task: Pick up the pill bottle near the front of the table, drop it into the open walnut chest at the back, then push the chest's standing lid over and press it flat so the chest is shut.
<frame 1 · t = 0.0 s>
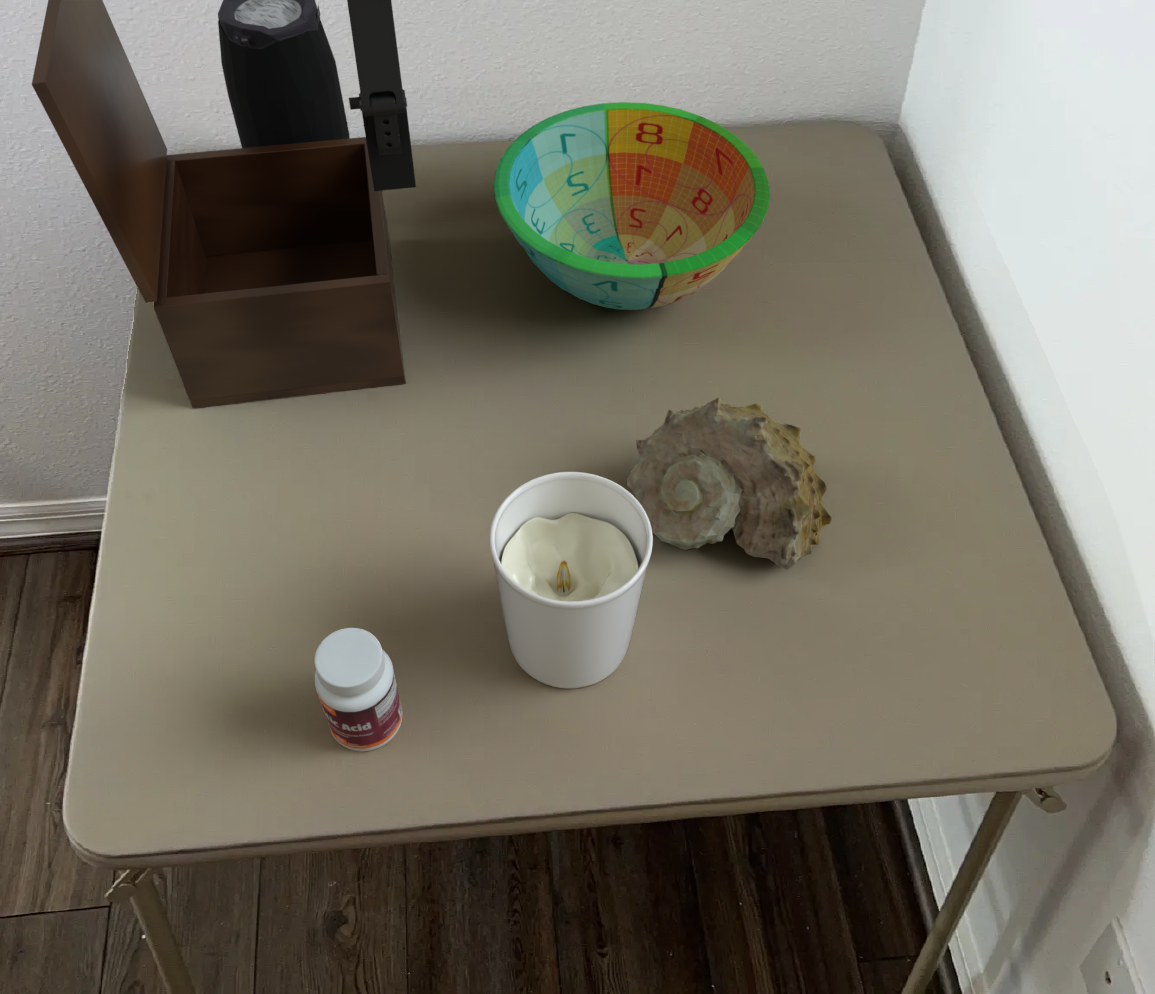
hand: (387, 124, 77), 21 cm above the table, tool pointing down, fingers open, 13 cm apart
lid: (110, 122, 78), point 20 cm above the table, hinge at 95.0°
pill bottle: (367, 720, 73), on the table
candle holder: (569, 637, 77), on the table
bowl: (625, 276, 99), on the table
chest: (297, 318, 95), on the table
portable speaker: (310, 205, 105), on the table
seashell: (724, 519, 84), on the table
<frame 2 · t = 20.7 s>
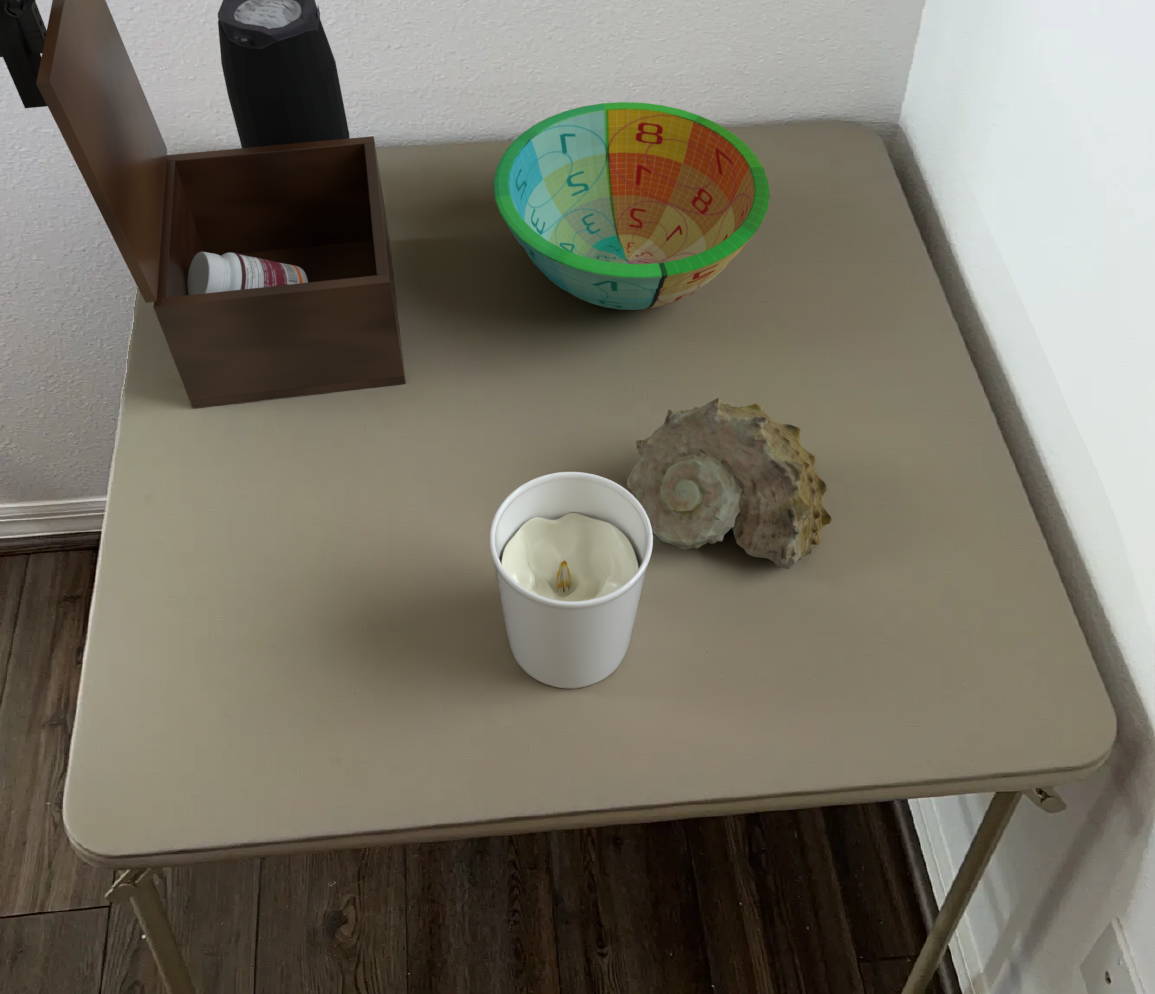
hand: (38, 95, 76), 23 cm above the table, tool pointing down, fingers closed
lid: (112, 121, 78), point 20 cm above the table, hinge at 94.1°, touching gripper
pill bottle: (298, 296, 93), point 3 cm above the table, touching chest
everything else where it was.
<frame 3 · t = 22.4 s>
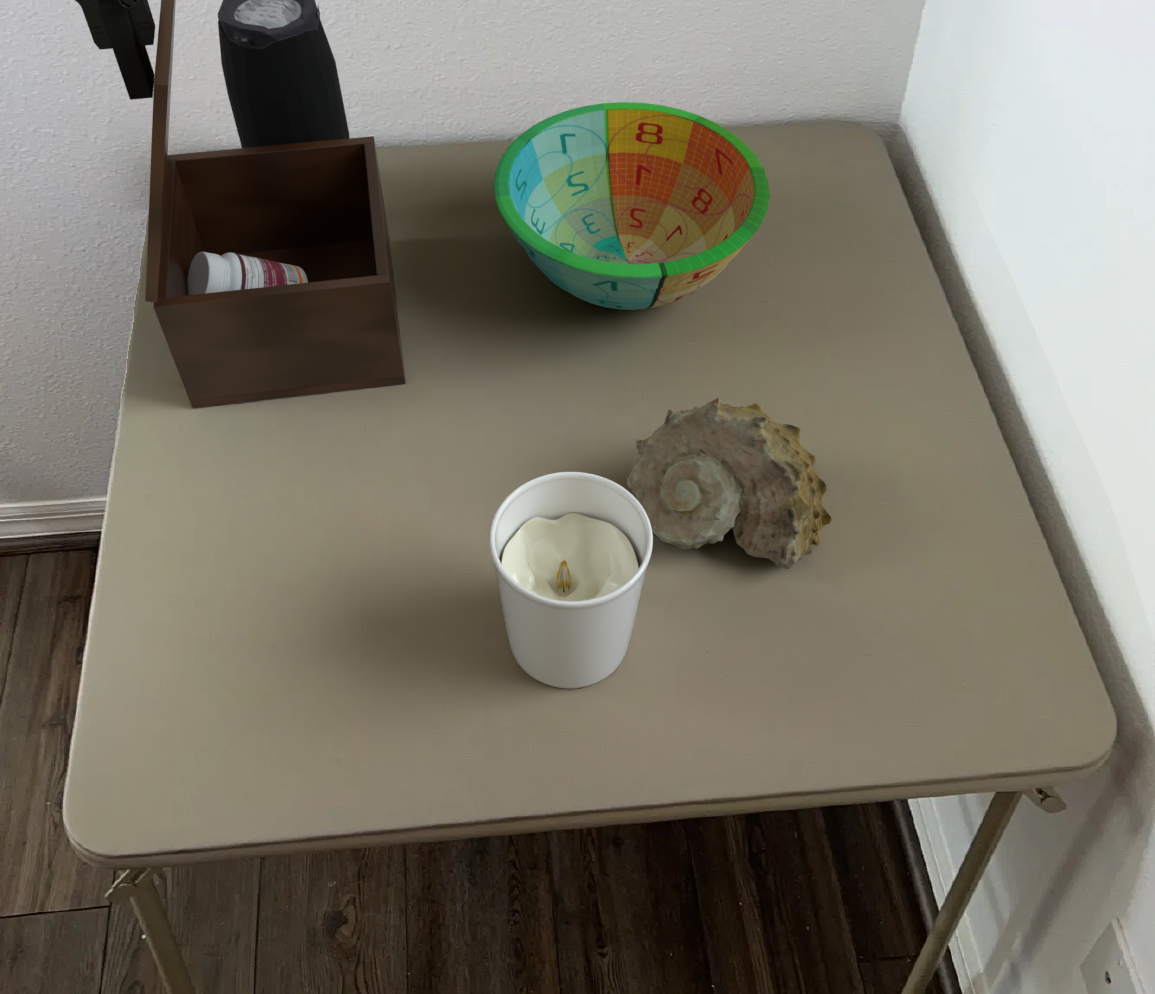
hand: (142, 87, 77), 23 cm above the table, tool pointing down, fingers closed
lid: (161, 122, 79), point 20 cm above the table, hinge at 72.6°, touching gripper
everything else where it was.
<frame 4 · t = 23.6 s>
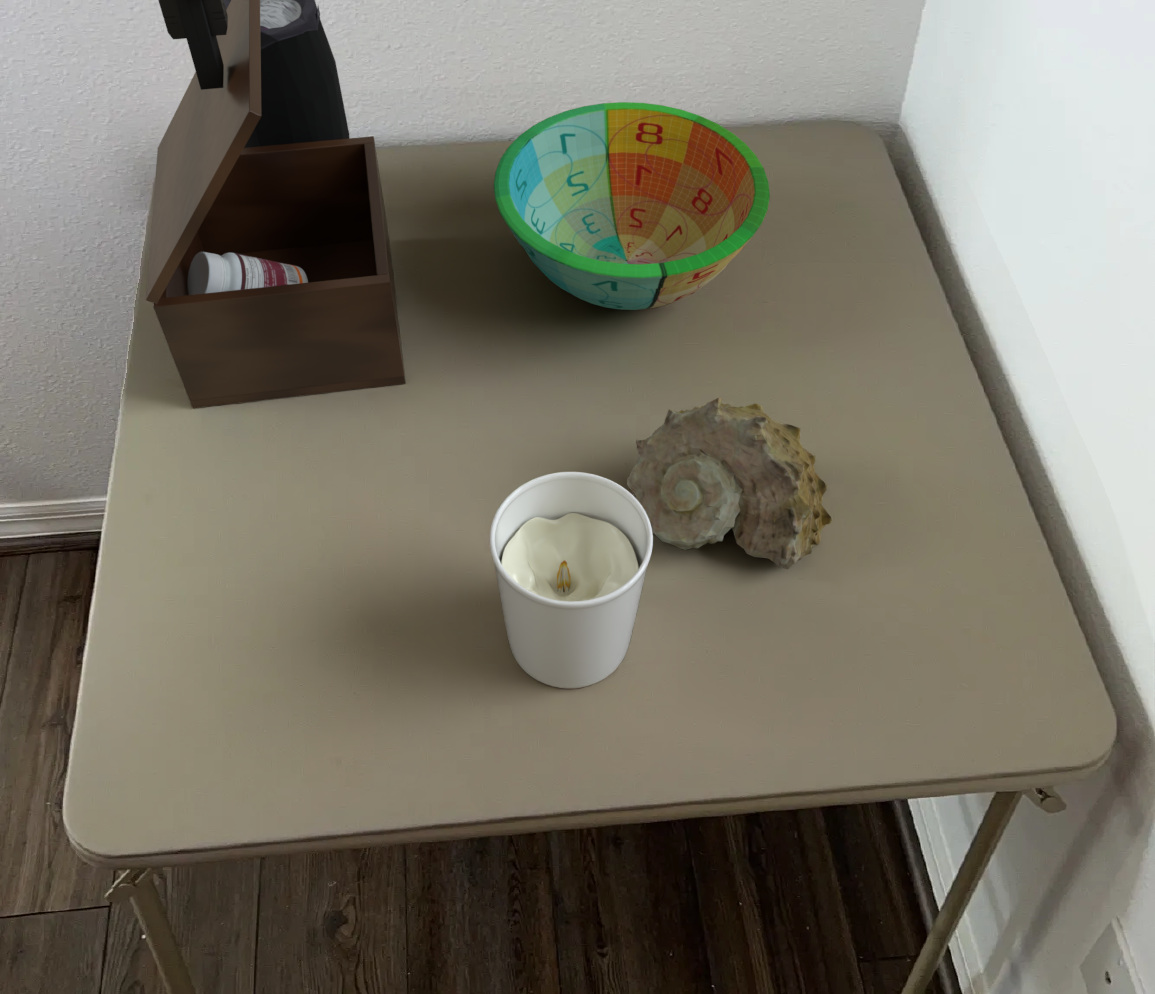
hand: (212, 77, 77), 23 cm above the table, tool pointing down, fingers closed
lid: (202, 134, 80), point 19 cm above the table, hinge at 54.4°
everything else where it was.
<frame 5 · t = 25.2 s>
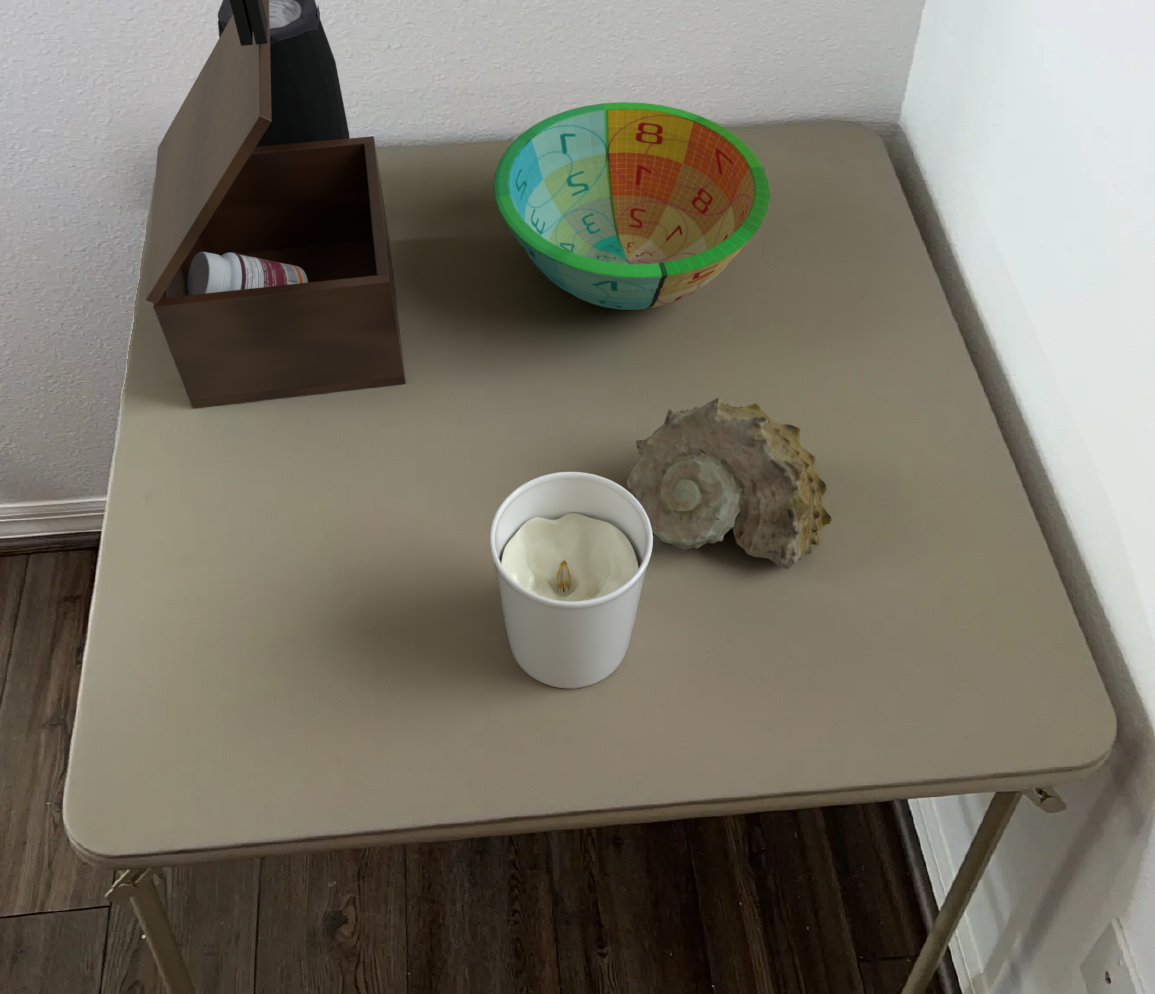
hand: (254, 33, 75), 26 cm above the table, tool pointing down, fingers closed
lid: (207, 136, 80), point 18 cm above the table, hinge at 52.1°, touching gripper
everything else where it was.
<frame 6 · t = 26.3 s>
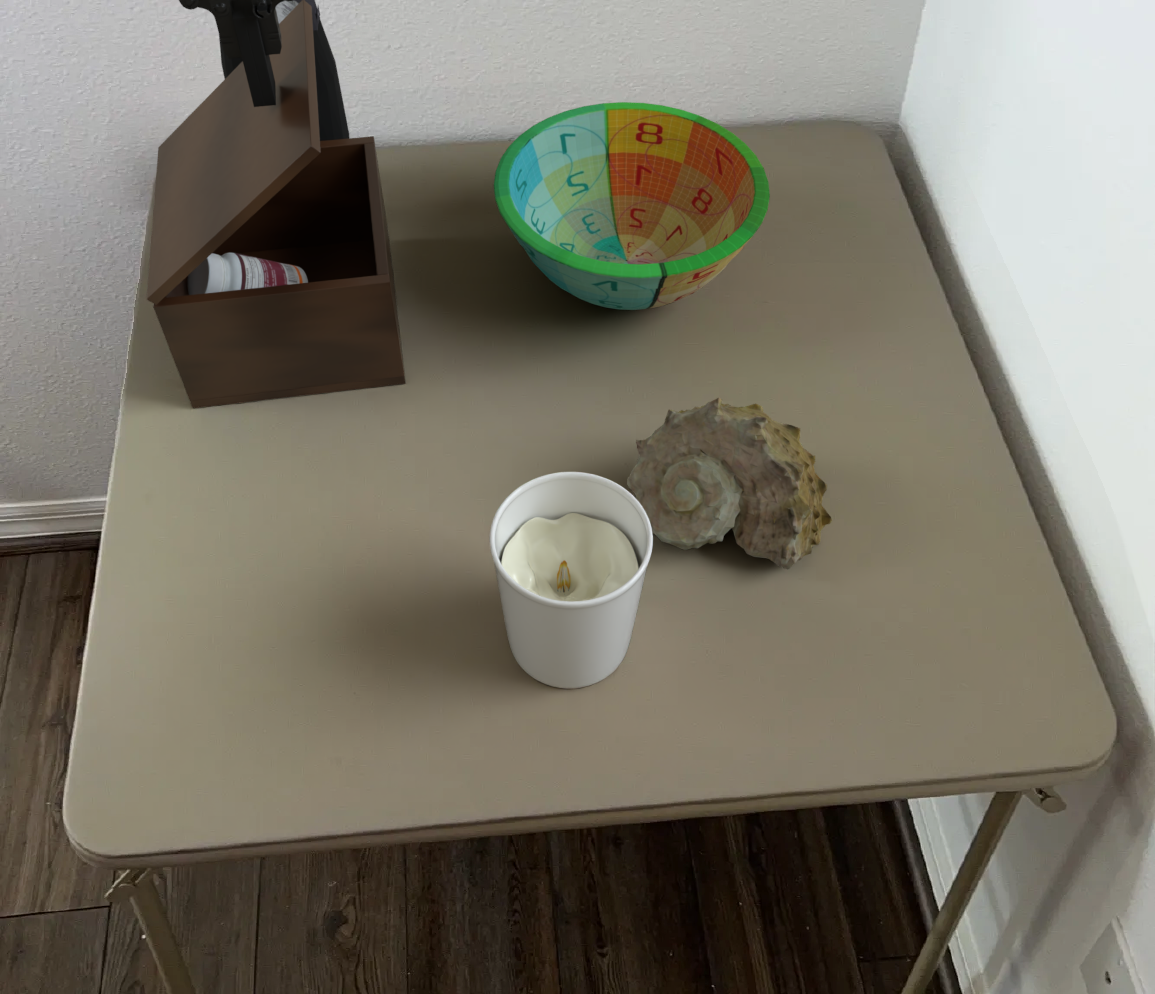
hand: (264, 94, 79), 21 cm above the table, tool pointing down, fingers closed
lid: (230, 149, 82), point 17 cm above the table, hinge at 40.1°, touching gripper
everything else where it was.
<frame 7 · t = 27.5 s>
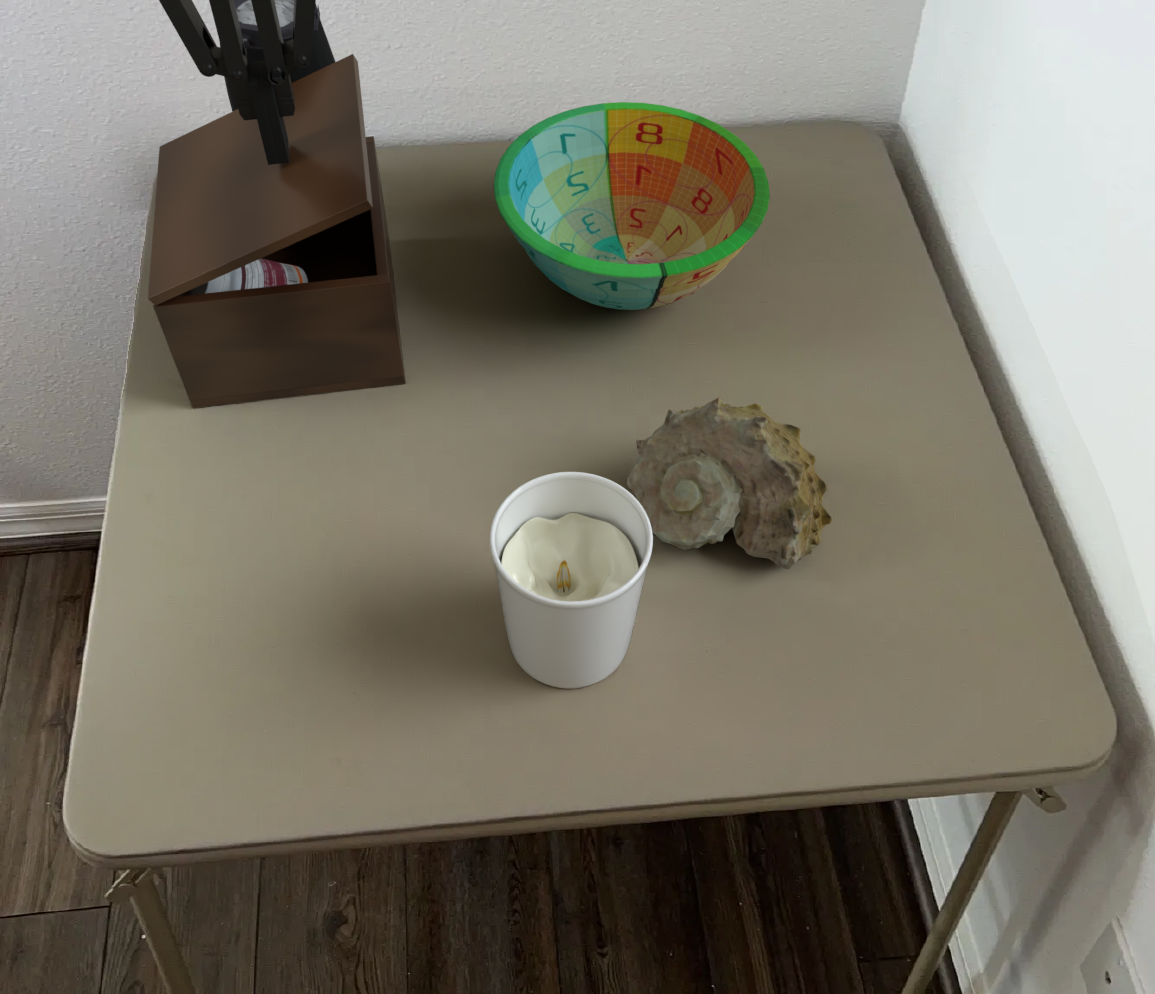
hand: (278, 152, 82), 16 cm above the table, tool pointing down, fingers closed
lid: (257, 175, 84), point 15 cm above the table, hinge at 22.1°
everything else where it was.
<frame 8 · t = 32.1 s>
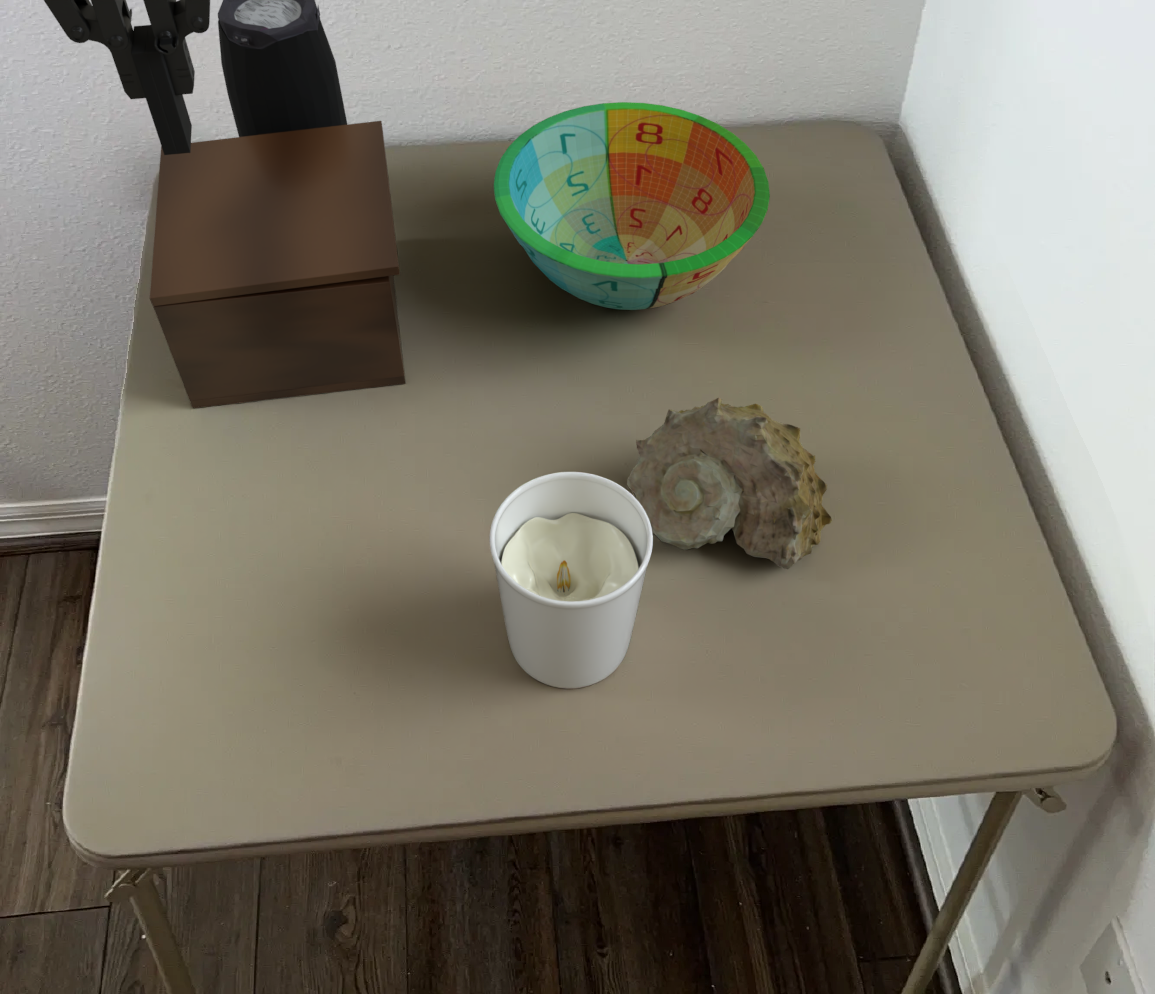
hand: (178, 139, 67), 26 cm above the table, tool pointing down, fingers closed
lid: (274, 207, 86), point 12 cm above the table, hinge at 1.7°
everything else where it was.
at the end: pill bottle inside the target area in the chest (0.7 cm from its centre), point 2.8 cm above the chest's base; lid at +2° (first picture: +95°) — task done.
